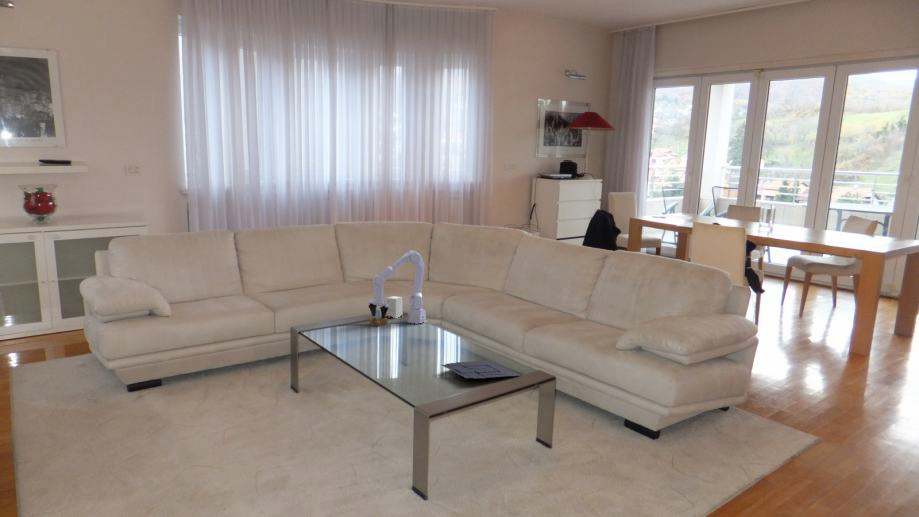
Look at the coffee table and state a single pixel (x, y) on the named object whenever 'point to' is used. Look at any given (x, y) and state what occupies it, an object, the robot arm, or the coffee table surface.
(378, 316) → the dowel
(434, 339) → the coffee table surface
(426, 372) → the coffee table surface
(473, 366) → the grey flat block
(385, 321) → the brown square frame
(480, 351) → the coffee table surface
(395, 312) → the supplement box
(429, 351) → the coffee table surface
